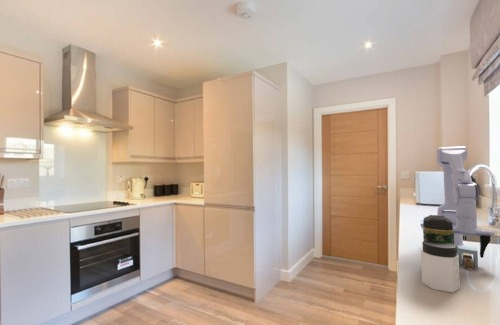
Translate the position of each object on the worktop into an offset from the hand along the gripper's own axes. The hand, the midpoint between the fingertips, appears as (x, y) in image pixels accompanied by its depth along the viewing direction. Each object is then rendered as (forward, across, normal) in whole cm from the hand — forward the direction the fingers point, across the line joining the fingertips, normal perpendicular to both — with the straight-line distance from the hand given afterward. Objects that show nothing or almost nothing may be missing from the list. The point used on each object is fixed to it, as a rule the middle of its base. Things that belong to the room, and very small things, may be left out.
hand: (467, 254), depth 93 cm
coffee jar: (+3, -8, -18) cm, 20 cm away
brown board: (+3, 0, -1) cm, 3 cm away
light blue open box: (+3, 0, 0) cm, 3 cm away
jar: (+3, -8, -29) cm, 30 cm away
